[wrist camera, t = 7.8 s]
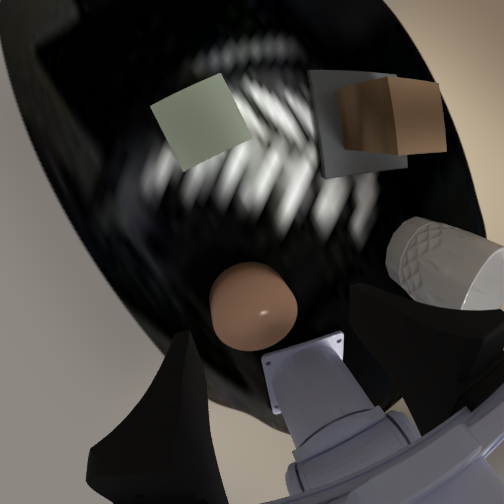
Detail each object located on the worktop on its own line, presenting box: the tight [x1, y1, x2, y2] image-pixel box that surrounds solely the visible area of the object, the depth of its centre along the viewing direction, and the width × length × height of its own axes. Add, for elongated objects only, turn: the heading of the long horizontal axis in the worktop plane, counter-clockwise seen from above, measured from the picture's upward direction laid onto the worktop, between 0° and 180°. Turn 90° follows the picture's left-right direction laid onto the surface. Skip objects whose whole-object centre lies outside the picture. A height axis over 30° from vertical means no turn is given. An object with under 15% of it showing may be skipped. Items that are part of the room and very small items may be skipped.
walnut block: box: [336, 76, 447, 156], centre depth 16 cm, size 4×4×6 cm
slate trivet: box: [307, 70, 408, 179], centre depth 19 cm, size 8×8×1 cm
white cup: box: [385, 216, 504, 310], centre depth 20 cm, size 8×8×10 cm
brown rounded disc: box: [209, 262, 297, 351], centre depth 21 cm, size 6×6×3 cm
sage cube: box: [150, 73, 252, 172], centre depth 15 cm, size 4×4×4 cm
